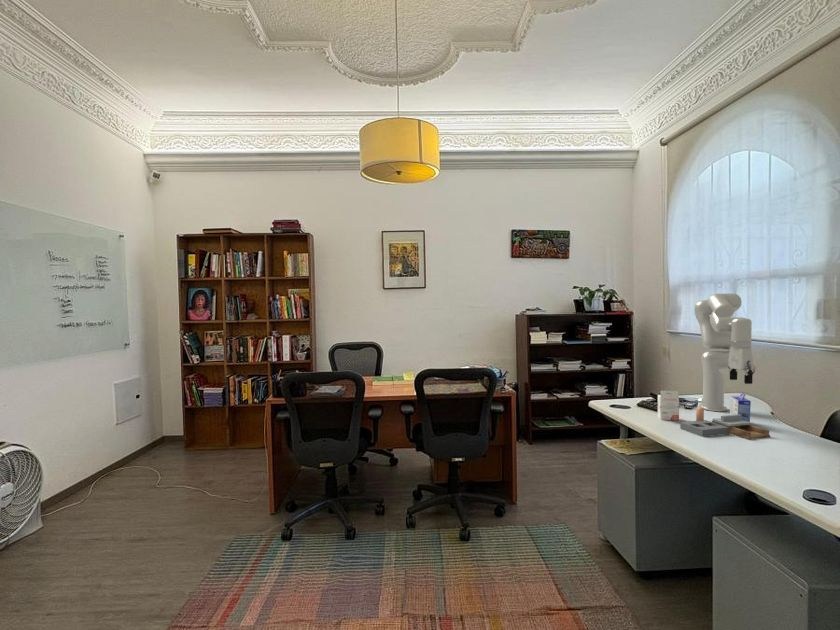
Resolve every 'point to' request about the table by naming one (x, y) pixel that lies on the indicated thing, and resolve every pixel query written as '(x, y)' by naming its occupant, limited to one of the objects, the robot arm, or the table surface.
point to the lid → (731, 420)
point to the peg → (699, 414)
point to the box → (747, 431)
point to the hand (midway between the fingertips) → (740, 381)
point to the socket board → (704, 428)
